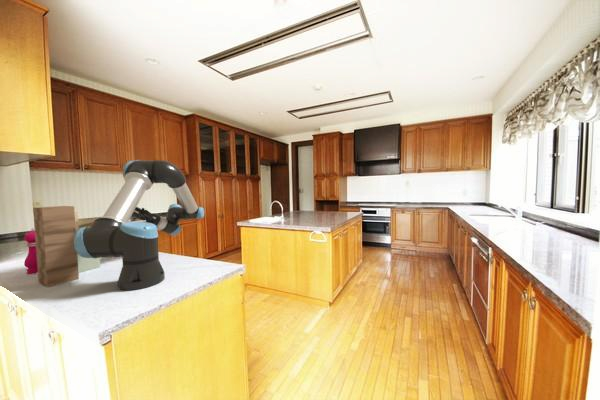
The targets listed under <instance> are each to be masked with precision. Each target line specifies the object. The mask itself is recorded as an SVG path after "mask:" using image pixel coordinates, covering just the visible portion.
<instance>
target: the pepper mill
mask: <svg viewBox="0 0 600 400" xmlns="http://www.w3.org/2000/svg"><path fill="white" fill-rule="evenodd" d="M23 239H24V241H25V242H27V243H26V247H28V254H27V256H26V258H25V259H24V263H23V265H24V266H25V268H27V269H26V274H27V275H34V274H35V275H36V274H38V268H37V254H36V241H35V227H33V228H31V231H30V232H27V233H26V234H25V235H24V238H23Z"/></svg>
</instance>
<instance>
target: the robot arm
mask: <svg viewBox="0 0 600 400" xmlns="http://www.w3.org/2000/svg"><path fill="white" fill-rule="evenodd" d="M122 169H123V171H122V176H123V179H124V183H123V185H122V187H121V188H120V190H119V192H118V193H117V194H116V196H115V197H114V199H113V200H112V202H111V203H110V204H109V206H108V207H107V210H106V211H105V213H104V214H103V215H102V216H99V217H100V218H97V219H96V220H95V221H94V222H93V223H92V225H91V226H90V227H84V228H81V229H79V230H78V231H77V233H76V234H75V237H74V247H75V250H76V252H77V253H78V254H79V255H80V256H81V257H84V258H100V259H101V258H103V259H105V258H121V259H122V267H121V271H120V273H119V276H118V279H117V288H118V289H119V290H121V291H122V290H123V291H133V290H135V291H136V290H139V289H140V290H142V289H144V288H145V289H146V288H149V287H152V286H155V285H157V284H160V283H161V282H163V281H164V280H165V278H166V277H165V271H164V268H163V266H162V264H161V262H160V259H159V257H160V254H159V253H160V252H159V234H158V231H161V232H163V233H166V234H168V235H169V236H173V237H174V236H175V237H176V236H177V235H179V234H180V233H181V231H182V226H181V225H180V224H179V221H180V220H199V219H203V218H204V217H205V209H204V207H201V206H198V204H197V202H196V200H195V197H194V196H193V195H192V193H191V191H190V189H189V186H188V185H187V183H186V182H187V178H186V176H185V174H184V173H183V172H182V170H181V169H180V168H178V167H177V166H176V164H175V165H174V164H173V163H172V162H170V161H166V160H162V159H161V160H159V159H157V160H155V159H154V160H153V159H152V160H150V159H149V160H148V159H147V160H145V159H136V160H129V161H128V162H126V163H125V165H124V167H123V168H122ZM153 184H165V185H167V186H168V188H171V190H173V192H174V194H175V196H176V197H177V199H178V201H179V203H180V204H176V203H172V204H169V207H168V209H167V212H166V216H165V217H164V216H161V215H160V214H157V213H151V211H149V210H148V209H145V208H144V207H142V208H140V207H138V205H139V203H140V201H141V200H142V197H143V195H144V194H145V191H148V190H150V189H151V188H152V186H153ZM131 217H132V218H136V219H139V220H140V221H130V219H131Z"/></svg>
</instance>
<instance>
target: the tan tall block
mask: <svg viewBox="0 0 600 400" xmlns="http://www.w3.org/2000/svg"><path fill="white" fill-rule="evenodd" d="M74 212H75V227H76V228H79V227H86V226H91V225H92V223H93V222H94V221H95V220H96V219H97V218H100V217H101V216H96V217H94V216H93V217H88V218H87V217H85V218H79V216H78V215H79V214H78V211H74Z"/></svg>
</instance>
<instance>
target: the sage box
mask: <svg viewBox="0 0 600 400" xmlns="http://www.w3.org/2000/svg"><path fill="white" fill-rule="evenodd" d="M86 227H90V226H86ZM81 228H84V227H79V228H76V233H77V231H78V230H79V229H81ZM77 258H78V273H80V274H81V273H83V272H89V271H91V270H95V269H100V268H101V258H84V257H81V256H80V255H79V254H78V253H77Z"/></svg>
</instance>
